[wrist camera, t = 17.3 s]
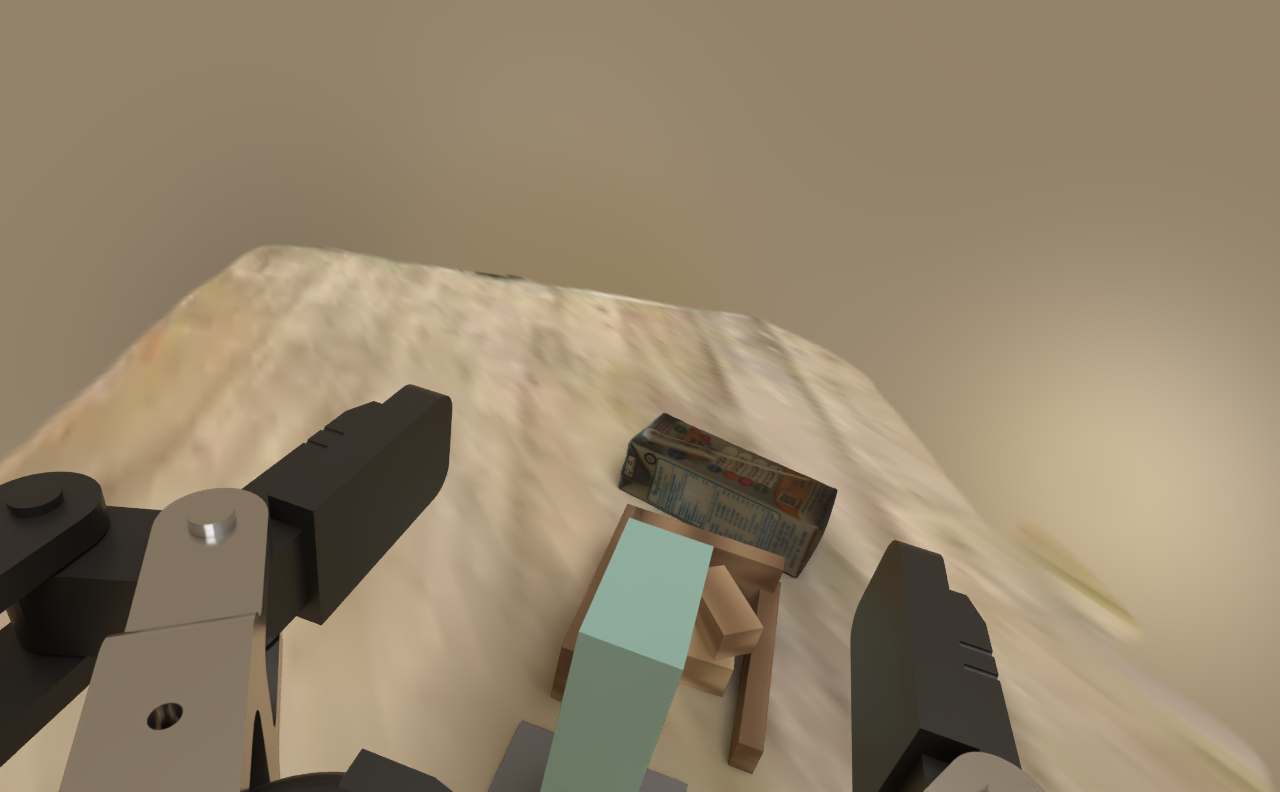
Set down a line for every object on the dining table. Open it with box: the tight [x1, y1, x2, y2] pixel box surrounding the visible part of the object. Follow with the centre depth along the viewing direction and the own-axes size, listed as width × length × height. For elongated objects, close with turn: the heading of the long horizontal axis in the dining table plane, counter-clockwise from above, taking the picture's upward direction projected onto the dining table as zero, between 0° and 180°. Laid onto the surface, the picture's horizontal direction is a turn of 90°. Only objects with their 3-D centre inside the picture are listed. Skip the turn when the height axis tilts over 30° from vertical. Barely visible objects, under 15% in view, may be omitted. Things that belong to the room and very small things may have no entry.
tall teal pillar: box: [540, 518, 713, 792], centre depth 32 cm, size 4×7×20 cm, turn 165°
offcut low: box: [679, 624, 735, 697], centre depth 50 cm, size 4×7×3 cm, turn 169°
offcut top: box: [695, 565, 764, 661], centre depth 49 cm, size 3×6×3 cm, turn 22°
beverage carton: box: [619, 413, 837, 578], centre depth 64 cm, size 8×19×7 cm, turn 62°
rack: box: [551, 504, 785, 773], centre depth 50 cm, size 14×16×5 cm
